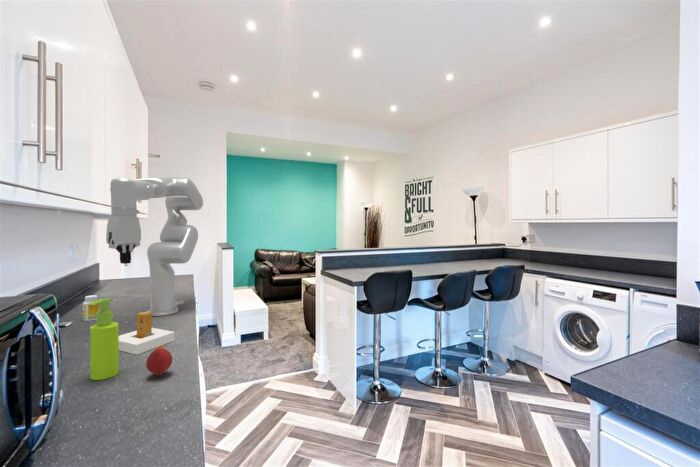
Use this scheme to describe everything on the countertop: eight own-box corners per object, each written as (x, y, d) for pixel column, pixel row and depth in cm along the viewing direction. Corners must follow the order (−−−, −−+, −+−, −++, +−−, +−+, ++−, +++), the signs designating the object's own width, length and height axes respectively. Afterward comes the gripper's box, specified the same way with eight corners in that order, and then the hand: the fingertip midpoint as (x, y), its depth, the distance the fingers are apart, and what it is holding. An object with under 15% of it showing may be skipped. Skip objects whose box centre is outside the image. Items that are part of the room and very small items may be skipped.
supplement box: (152, 341, 108) (152, 311, 107) (145, 344, 104) (145, 314, 104) (143, 340, 108) (143, 311, 108) (135, 344, 104) (135, 313, 104)
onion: (160, 381, 80) (160, 350, 80) (140, 379, 82) (140, 348, 81) (177, 371, 86) (177, 342, 86) (158, 369, 87) (158, 340, 87)
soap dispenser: (80, 381, 80) (79, 302, 80) (105, 369, 87) (104, 296, 87) (101, 383, 79) (100, 303, 79) (124, 370, 86) (124, 296, 86)
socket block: (148, 335, 114) (148, 326, 114) (174, 340, 109) (174, 331, 109) (109, 348, 102) (109, 338, 102) (136, 354, 97) (136, 344, 97)
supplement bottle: (79, 321, 129) (79, 297, 129) (88, 317, 134) (88, 294, 134) (94, 321, 130) (94, 297, 130) (102, 317, 135) (102, 294, 135)
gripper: (136, 213, 124) (138, 260, 125) (94, 212, 110) (96, 265, 111) (150, 213, 122) (151, 261, 123) (109, 213, 108) (111, 267, 109)
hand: (125, 263), depth 117 cm, fingers closed
